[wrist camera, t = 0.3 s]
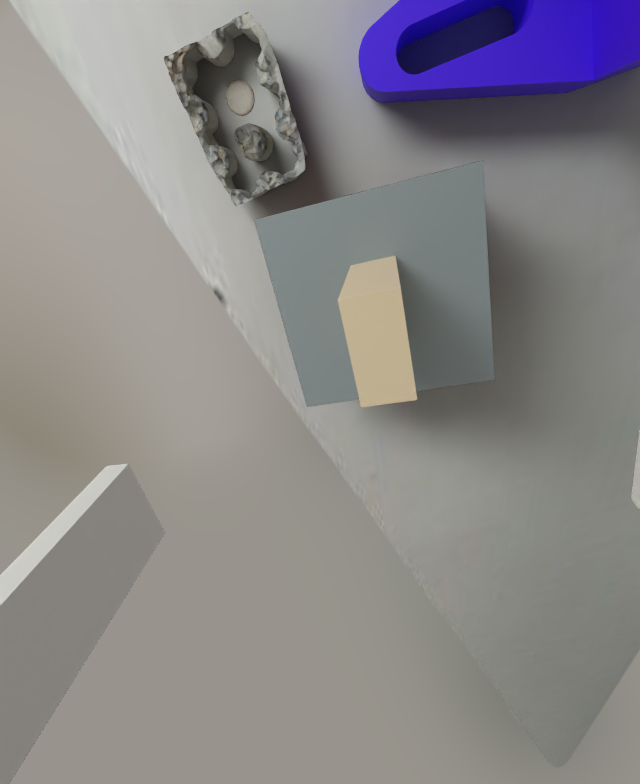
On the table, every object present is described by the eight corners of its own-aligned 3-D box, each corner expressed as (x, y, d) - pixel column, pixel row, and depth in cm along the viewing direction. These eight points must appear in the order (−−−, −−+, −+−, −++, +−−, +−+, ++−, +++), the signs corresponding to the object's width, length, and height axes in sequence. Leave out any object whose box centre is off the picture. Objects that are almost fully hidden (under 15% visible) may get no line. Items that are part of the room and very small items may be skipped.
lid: (257, 218, 28) (200, 236, 19) (479, 161, 24) (533, 150, 16) (308, 400, 34) (283, 478, 25) (491, 374, 31) (535, 452, 22)
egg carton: (181, 64, 31) (155, 48, 28) (269, 17, 29) (253, -6, 26) (237, 208, 35) (220, 210, 32) (317, 176, 33) (309, 175, 30)
